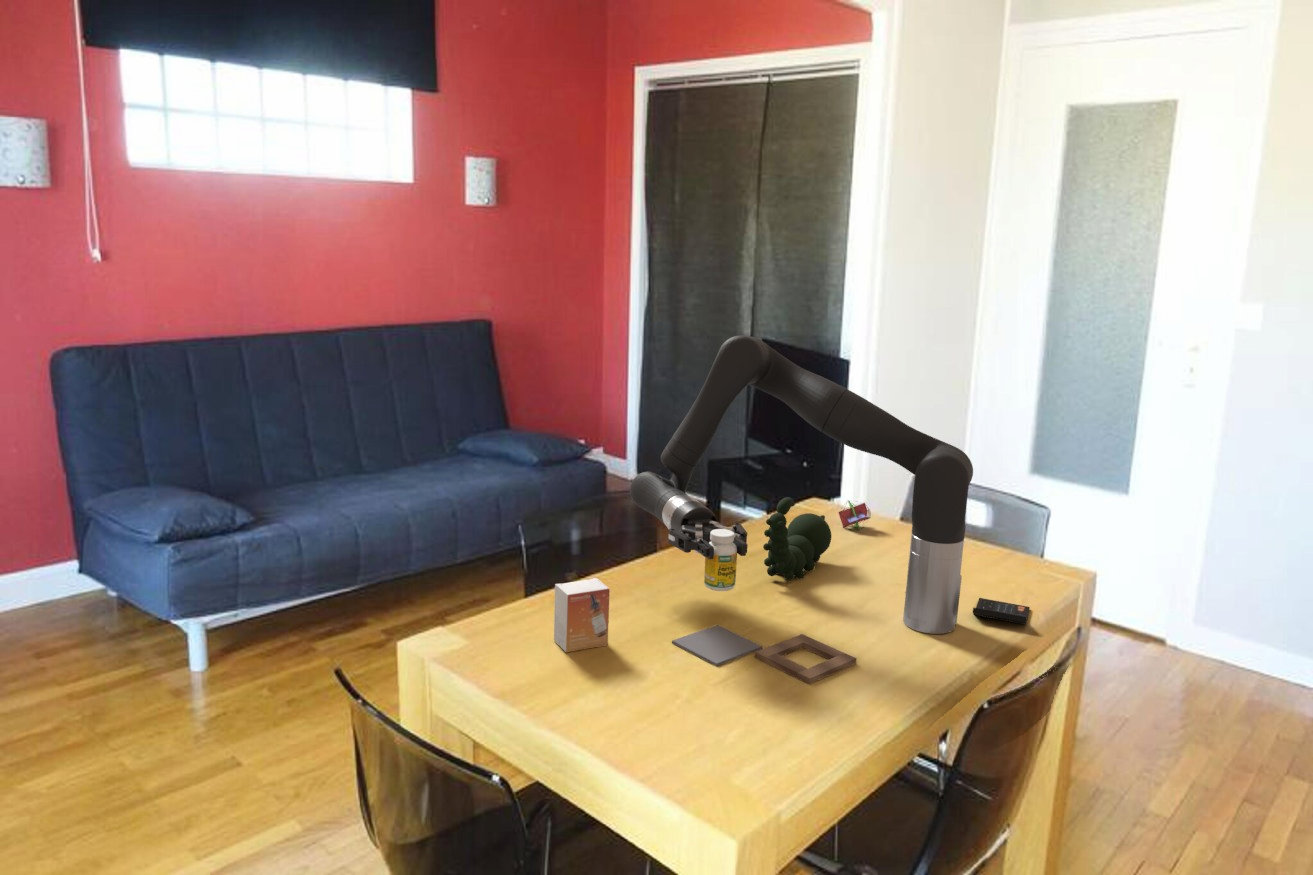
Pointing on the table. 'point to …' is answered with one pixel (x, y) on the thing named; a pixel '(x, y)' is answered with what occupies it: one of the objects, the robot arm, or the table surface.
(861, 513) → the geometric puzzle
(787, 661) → the walnut dock
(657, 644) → the table surface
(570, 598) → the small box
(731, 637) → the charcoal mat
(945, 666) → the table surface
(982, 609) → the black flat block
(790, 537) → the toy figurine
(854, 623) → the table surface
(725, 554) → the supplement bottle
